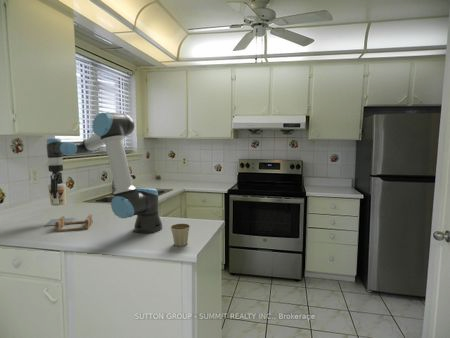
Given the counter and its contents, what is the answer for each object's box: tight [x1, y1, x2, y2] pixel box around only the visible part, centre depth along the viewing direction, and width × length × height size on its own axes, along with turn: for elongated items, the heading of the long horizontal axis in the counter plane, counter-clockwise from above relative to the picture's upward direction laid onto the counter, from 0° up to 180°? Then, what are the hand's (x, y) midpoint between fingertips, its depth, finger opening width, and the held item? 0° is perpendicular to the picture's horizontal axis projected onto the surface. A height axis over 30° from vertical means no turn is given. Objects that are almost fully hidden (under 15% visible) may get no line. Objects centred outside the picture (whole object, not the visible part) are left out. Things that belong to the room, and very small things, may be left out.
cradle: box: [54, 214, 94, 233], centre depth 170 cm, size 15×16×5 cm
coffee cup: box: [47, 182, 67, 207], centre depth 177 cm, size 9×9×12 cm
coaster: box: [43, 217, 75, 227], centre depth 179 cm, size 13×13×1 cm
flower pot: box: [169, 223, 191, 247], centre depth 141 cm, size 9×9×9 cm
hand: (58, 201), depth 177 cm, fingers closed on coffee cup, 9 cm apart
